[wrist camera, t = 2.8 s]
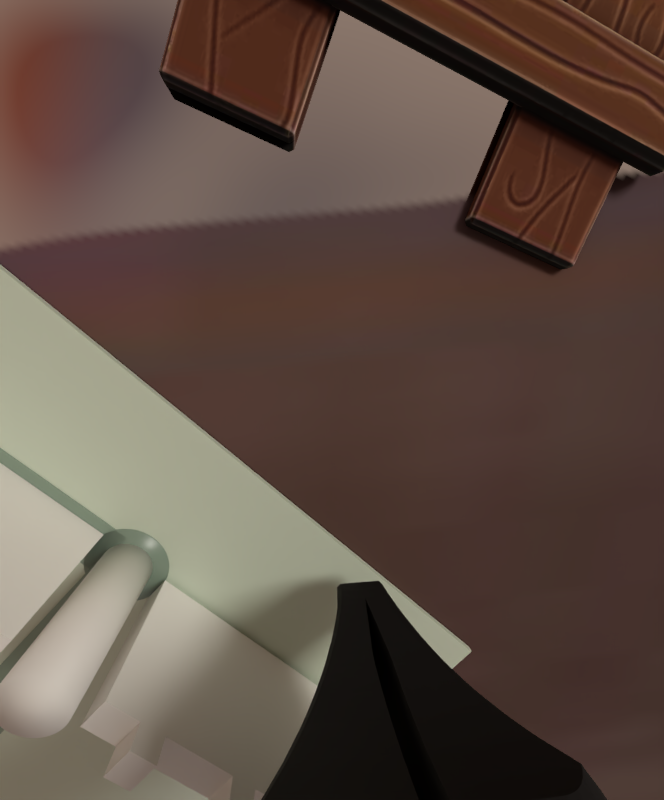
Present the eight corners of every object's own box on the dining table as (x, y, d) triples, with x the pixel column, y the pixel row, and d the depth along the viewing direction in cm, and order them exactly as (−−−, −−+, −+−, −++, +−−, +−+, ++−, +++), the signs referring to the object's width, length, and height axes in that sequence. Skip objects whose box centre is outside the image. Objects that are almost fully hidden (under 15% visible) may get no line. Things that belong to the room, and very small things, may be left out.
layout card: (175, 911, 16) (173, 920, 16) (-457, 613, 11) (-473, 620, 11) (469, 646, 15) (471, 651, 14) (-126, 161, 10) (-137, 157, 9)
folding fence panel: (147, 598, 13) (64, 756, 8) (165, 580, 12) (91, 729, 8) (325, 718, 14) (338, 903, 10) (342, 703, 14) (363, 882, 10)
